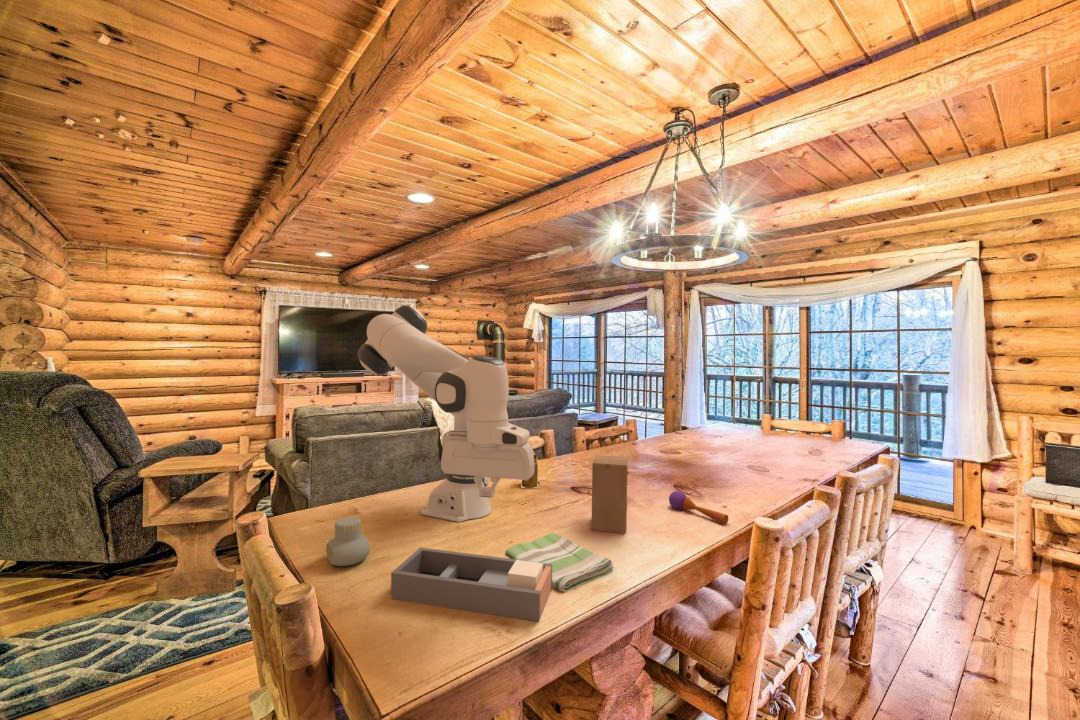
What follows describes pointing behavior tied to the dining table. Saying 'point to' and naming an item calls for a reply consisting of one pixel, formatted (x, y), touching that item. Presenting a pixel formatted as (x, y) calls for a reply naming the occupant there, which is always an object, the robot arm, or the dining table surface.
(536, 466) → the condiment
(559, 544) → the dish towel
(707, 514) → the purple and brown maraca
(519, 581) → the cream block
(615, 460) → the wooden block
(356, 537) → the air freshener
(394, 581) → the box
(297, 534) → the dining table surface
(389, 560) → the dining table surface
